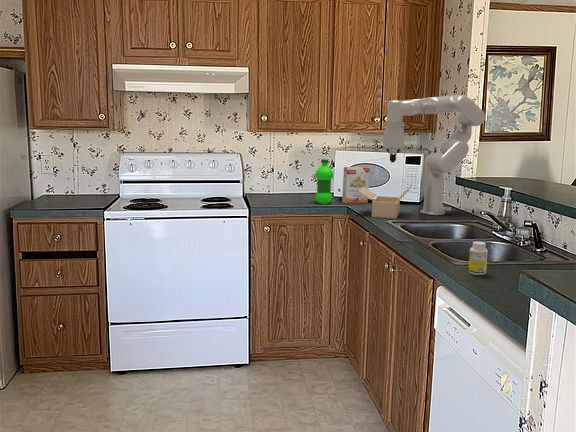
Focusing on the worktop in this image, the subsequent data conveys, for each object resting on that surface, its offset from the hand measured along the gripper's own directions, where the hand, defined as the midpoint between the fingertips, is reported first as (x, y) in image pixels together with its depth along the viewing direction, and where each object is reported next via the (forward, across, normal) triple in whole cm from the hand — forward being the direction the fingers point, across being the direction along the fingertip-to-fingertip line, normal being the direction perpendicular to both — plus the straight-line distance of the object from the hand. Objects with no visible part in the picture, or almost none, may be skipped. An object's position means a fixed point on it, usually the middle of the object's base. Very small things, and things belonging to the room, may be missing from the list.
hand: (392, 162), depth 296 cm
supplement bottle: (+27, -37, +105) cm, 114 cm away
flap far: (+16, +12, 0) cm, 20 cm away
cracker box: (+27, +23, -34) cm, 49 cm away
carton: (+27, +2, 0) cm, 27 cm away
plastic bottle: (+27, +40, -26) cm, 55 cm away
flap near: (+15, -6, 0) cm, 17 cm away
